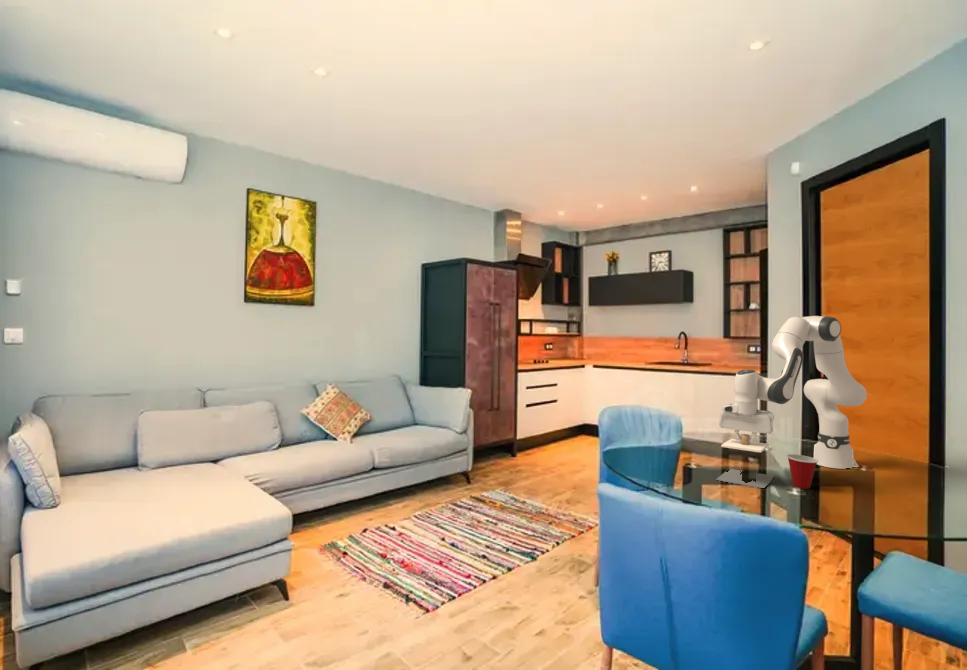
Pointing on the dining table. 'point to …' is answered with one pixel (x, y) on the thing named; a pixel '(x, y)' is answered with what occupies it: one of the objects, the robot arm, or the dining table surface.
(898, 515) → the dining table surface
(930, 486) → the dining table surface
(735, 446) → the lid
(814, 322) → the robot arm
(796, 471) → the plastic cup
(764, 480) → the mat
